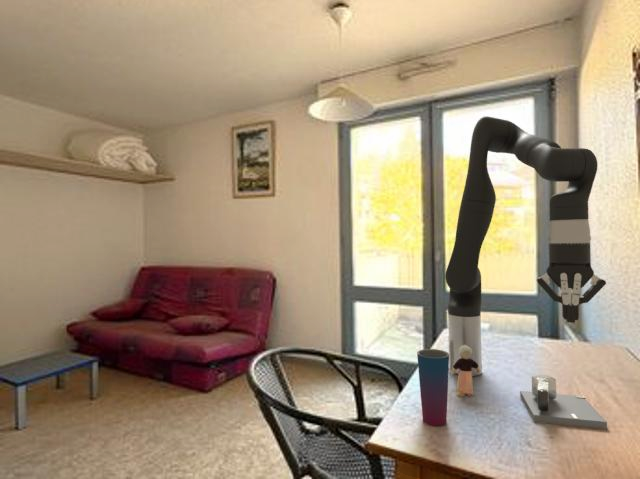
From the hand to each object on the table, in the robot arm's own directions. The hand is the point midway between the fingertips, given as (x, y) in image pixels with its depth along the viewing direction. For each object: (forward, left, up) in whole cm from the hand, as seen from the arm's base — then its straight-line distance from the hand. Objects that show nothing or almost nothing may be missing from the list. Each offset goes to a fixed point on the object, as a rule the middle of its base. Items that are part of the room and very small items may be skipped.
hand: (570, 321), depth 82 cm
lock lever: (-4, +5, -19) cm, 20 cm away
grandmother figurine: (-20, +11, -22) cm, 32 cm away
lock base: (-1, +5, -22) cm, 22 cm away
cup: (-28, -6, -22) cm, 36 cm away
